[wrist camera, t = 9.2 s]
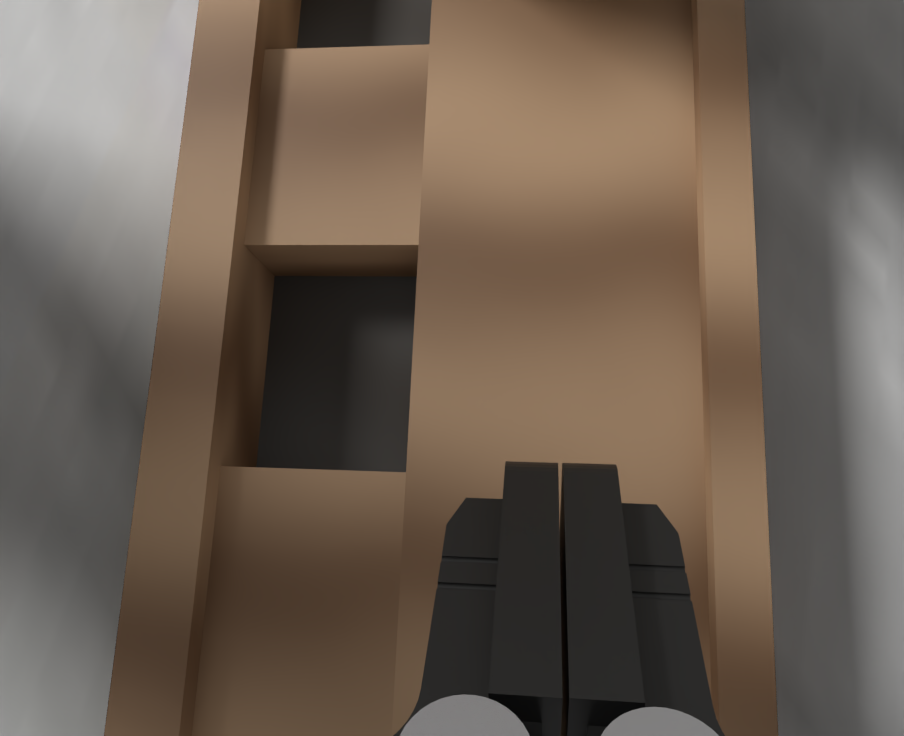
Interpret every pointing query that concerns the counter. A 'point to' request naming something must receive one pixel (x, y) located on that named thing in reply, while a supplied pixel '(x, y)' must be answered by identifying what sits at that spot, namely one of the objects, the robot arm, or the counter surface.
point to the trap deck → (437, 340)
